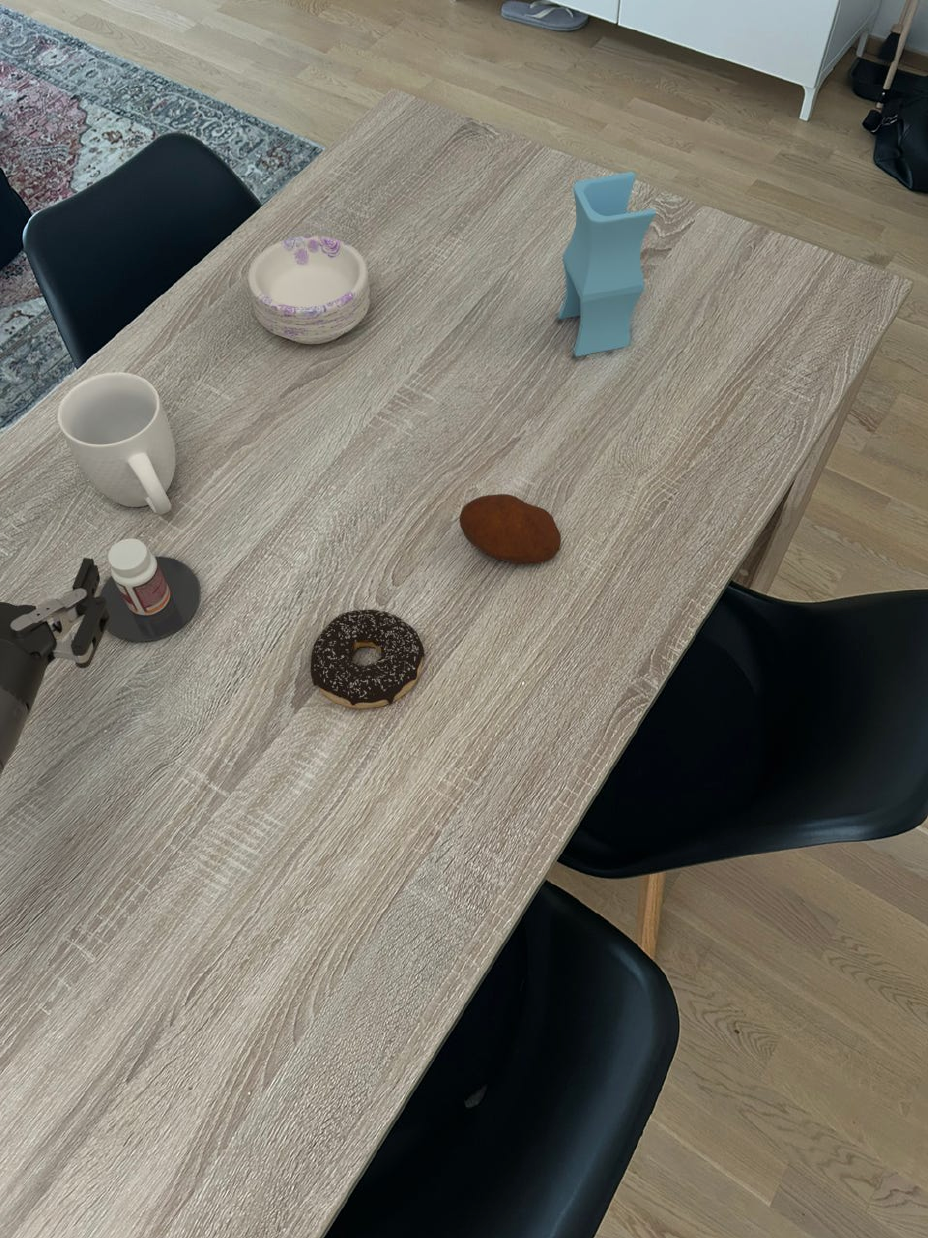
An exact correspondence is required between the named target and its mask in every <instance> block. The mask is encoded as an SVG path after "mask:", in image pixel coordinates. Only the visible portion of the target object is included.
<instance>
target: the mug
mask: <svg viewBox="0 0 928 1238" xmlns="http://www.w3.org/2000/svg"><path fill="white" fill-rule="evenodd" d="M56 417H57V418H56V419H57V424H58V427H59V429H60V432H61V434H62V435H63V439H64V440H65V442H66V445H67V446H68V448H69V450H70V453H71V455H72V456H73V457H74V460H75V462H76V463H77V464H78V466H79V469H80V470H81V471H82V472H83V474H84V476H85V477H86V478H87V479H88V480H89V482H90V483H91V484H92V485H93V486H94V488H95V489H97V490H98V491H99V492H100V493H101V494H103V496H105V497H106V498H107V499H110V500H111V501H112V502H115V503H117V504H119V505H122V506H125V507H130V508H141V507H146V506H149V507H150V508H151V510H152V511H153V512H154V513H155V514H156V515H158V516H161V515H165V514H167V513H169V512H170V511H171V510H172V503H171V501H170V499H169V497H168V495H167V492H168V490H169V488H170V486H171V484H172V482H173V480H174V476H175V470H176V456H177V455H176V446H175V440H174V437H173V431H172V429H171V424H170V423H169V420H168V416H167V414H166V411H165V407H164V406H163V403H162V400H161V398H160V396H159V393H158V392H157V389H156V388H155V387H154V385H152V383H151V382H149V381H148V380H146V379H145V378H144V377H141V376H139V375H137V374H134V373H130V372H124V371H123V372H122V371H113V372H104V373H99V374H96V375H93V376H90V377H89V378H86V379H84V380H82V381H80V382H79V383H77V384H76V385H75V386H73V387H72V388H71V389H70V390H69V391H68V392H66V394H65V395H64V396H63V398H62V400H61V401H60V403H59V405H58V409H57V415H56Z"/></svg>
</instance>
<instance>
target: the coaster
mask: <svg viewBox="0 0 928 1238" xmlns="http://www.w3.org/2000/svg"><path fill="white" fill-rule="evenodd" d="M154 557H155V559H156V561H157V563H158V565H159V568H160V570H161V572H162V574H163V576H164V579H165V581H166V583H167V585H168V587H169V590H170V599H169V601H168V603H167V605H166V606H165V607H164V608H163V609H162V610H161V611H159V612H157V613H155V614H152V615H139V614H136V613H134V612H133V611H131V610H130V609H129V607H128V605H127V603H126V602H125V600H124V598H123V596H122V594H121V592H120V590H119V588H118V587H117V585H116V583H115V581H114V579H113V577H112V575H110V576H109V577H108V579H107V580H106V581H105V583H104V584H103V585H102V588H101V590H100V593H99V596H101V597H104V598H105V599H106V603H107V610H108V614H109V616H110V621H109V623H108V626H107V628H106V630H108V631H109V632H110V633H111V634H113V635H114V636H115V637H117V638H119V639H121V640H124V641H128V642H131V643H153V642H156V641H157V642H158V641H160V640H163V639H166V638H169V637H170V636H173V635H174V634H176V633H178V632H179V631H180V630H182V629H183V628H184V627H185V626H187V625H188V624H189V622H190V621H191V620H192V619H193V617H194V616H195V614H196V612H197V610H198V608H199V604H200V601H201V587H200V586H201V585H200V583H199V580H198V578H197V575H196V574H195V573H194V571H193V570H192V569H191V568H190V567H189V566H188V565H186V564H185V563H183V562H182V561H180V560H178V559H175V558H171V557H167V556H154Z"/></svg>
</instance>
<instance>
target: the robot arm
mask: <svg viewBox="0 0 928 1238" xmlns="http://www.w3.org/2000/svg"><path fill="white" fill-rule="evenodd" d="M100 583H101V576H100V571H99V567H98V564H95V561H94V559H93V558H89V557H88V558H87V557H83V559H82V561H81V564H80V567H79V569H78V571H77V573H76V576H75V579H74V582H73V584H72V586H71V587H72V591H71V592H69V593H67V594H66V595H64V596H63V597H61V598H59V599H57V598H52V599H50V600H49V601H46V602H45V603H43V604H42V605H40V606H38V607H36V605H32V604H31V605H30V604H17V605H16V604H13V603H10V602H7V601H6V602H5V601H0V778H1V777H2V774H3V771H4V769H5V767H6V765H7V764H8V762H9V761H10V759H11V757H12V755H13V753H14V752H15V750H16V749H17V745H18V743H19V742H20V741H19V740H20V739H21V735H22V733H23V730H24V728H25V727H26V726H25V725H26V723H27V720H28V718H29V715H30V713H31V710H32V708H33V705H34V703H35V700H36V699H37V695H38V694H39V690H40V687H41V685H42V683H43V680H44V677H45V673H46V671H47V668H48V667H49V665H51V663H52V662H54V661H55V660H56V659H59V660H60V659H61V660H67V661H71V662H72V661H73V662H74V663H75V666H76V668H78V669H86V668H88V667H90V665H91V664H92V662H93V659H94V657H95V655H96V653H97V650H98V648H99V646H100V644H101V641H102V639H103V637H104V635H105V633H106V630H107V626H108V623H109V621H110V616H109V614H108V610H107V603H106V599H105V598H104V597H101V596H100V595H98V596H96V593H97V590H98V588H99V585H100ZM50 619H53V622H52V624H51V625H50V623H49V622H48V621H49V620H50ZM79 622H80V624H79V626H78V628H77V630H76V632H75V631H73V632H70V631H71V630H72V627H73V626H75V625H76V624H78V623H79ZM69 632H70V635H69V636H68V637H67V639H66V640H64V641H62V642H58V640H60V639H61V638H62V637H64V636H66V635H67V634H68V633H69Z"/></svg>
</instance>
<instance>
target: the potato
mask: <svg viewBox="0 0 928 1238" xmlns="http://www.w3.org/2000/svg"><path fill="white" fill-rule="evenodd" d="M554 519H555V518H554V517H553V515H551V514H550V513H549V512H548V510H546V509H544V508H542V507H539V506H537V505H533V504H531V503H528V502H525V501H523V500H522V499H521V498H519V497H517V496H514V495H511V494H508V493H498V494H497V493H496V494H489V495H483V496H479V497H477V498H475V499H472V500H471V501H469V502H468V503H465V505H464V506H463V507H462V509H461V511H460V516H459V520H458V521H459V524H460V525H459V526H460V528H461V531H462V533H463V535H464V537H465V538H466V539H467V541H469V543H471V544H472V545H473V546H474V547H475V548H477V549H478V550H479V551H481V552H482V553H484V554H486V555H488V556H489V557H491V558H493V559H497V560H501V561H505V562H510V563H517V564H524V565H525V564H527V565H529V564H535V565H536V564H540V563H545V562H547V561H550V560H552V559H554V558H555V556H556V555H557V554H558V553H559V551H560V550H561V545H562V544H561V543H562V535H561V532H560V530H559V528H558V525H557V524H556V522H555V520H554Z"/></svg>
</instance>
